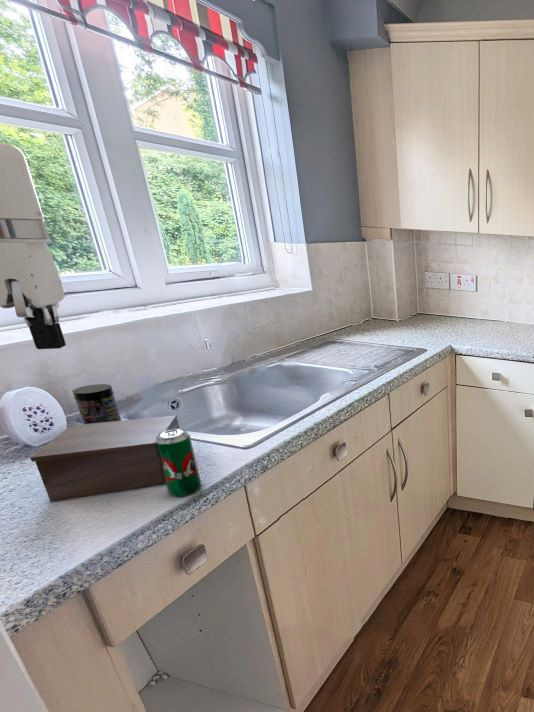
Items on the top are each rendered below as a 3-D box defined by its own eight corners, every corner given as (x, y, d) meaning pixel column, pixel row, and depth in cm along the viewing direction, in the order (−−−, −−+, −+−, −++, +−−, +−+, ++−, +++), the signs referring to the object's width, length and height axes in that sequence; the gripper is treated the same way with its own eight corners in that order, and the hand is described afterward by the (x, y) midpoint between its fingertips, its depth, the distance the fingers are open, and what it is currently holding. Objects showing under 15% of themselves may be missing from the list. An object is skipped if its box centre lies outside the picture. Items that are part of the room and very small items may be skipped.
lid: (157, 446, 84) (156, 442, 84) (31, 461, 77) (29, 457, 76) (177, 418, 97) (176, 415, 96) (71, 429, 90) (69, 425, 89)
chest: (169, 484, 87) (159, 446, 85) (50, 501, 80) (34, 461, 78) (185, 452, 99) (177, 418, 97) (83, 465, 92) (71, 429, 90)
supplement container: (126, 422, 113) (114, 382, 109) (120, 432, 107) (107, 391, 104) (89, 426, 109) (76, 386, 106) (81, 437, 104) (67, 395, 100)
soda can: (200, 481, 89) (187, 425, 85) (203, 492, 85) (189, 434, 81) (168, 489, 86) (152, 431, 82) (169, 501, 82) (153, 441, 78)
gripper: (7, 229, 74) (43, 339, 81) (-54, 231, 62) (-6, 360, 68) (67, 232, 77) (98, 337, 84) (21, 233, 65) (61, 357, 71)
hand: (51, 347), depth 76 cm, fingers closed
